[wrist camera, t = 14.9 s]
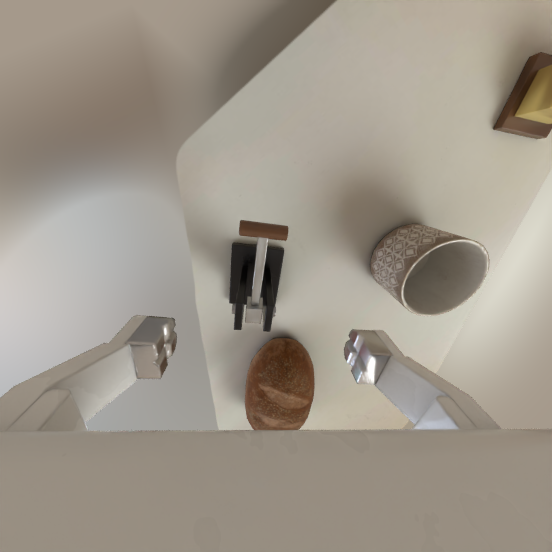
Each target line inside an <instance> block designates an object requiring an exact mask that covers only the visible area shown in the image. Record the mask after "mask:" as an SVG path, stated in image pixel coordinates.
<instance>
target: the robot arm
mask: <svg viewBox="0 0 552 552" xmlns="http://www.w3.org/2000/svg"><path fill="white" fill-rule="evenodd" d="M175 326H176V324H175V319H174V318H167V317H155V316H140V315H136V316H133V317H132V318H131V319H130V320H129V322H128V323H127V324H126V325H125V326H124V327H123V328H122V329H121V330H120V331H119V332H118V333H117V335H116V336H115V337H114V338H113V339H112V340H111V341H110V342H109V343H103V344H101V345H99V346H97V347H95V348H93V349H91V350H89V351H86V352H84V353H82V354H80V355H78V356H76V357H74V358H72V359H70V360H68V361H66V362H64V363H62V364H59V365H57V366H55V367H53V368H51V369H49V370H47V371H45V372H43V373H41V374H39V375H37V376H34V377H32V378H30V379H29V380H26V381H24V382H22V383H20V384H18V385H16V386H14V387H13V388H11V389H10V390H9V391H8V392H7V393H5V394H4V395H3V396H2V397H1V398H0V552H552V429H501V428H500V426H498V425H497V423H496V422H495V421H494V420H493V419H492V418H491V417H490V416H489V415H488V414H487V413H486V412H485V411H484V410H483V409H482V408H481V407H480V406H479V405H478V404H477V402H476V401H475V400H474V399H473V398H472V397H470V396H469V395H468V394H466V393H465V392H463V391H462V390H460V389H459V388H457V387H455V386H454V385H452V384H451V383H449V382H447V381H446V380H444V379H443V378H441V377H439V376H438V375H436V374H435V373H433V372H431V371H430V370H428V369H427V368H425V367H423V366H422V365H420V364H419V363H417V362H416V361H414V360H412V359H411V358H409V357H405V356H404V355H403V354H402V352H401V351H400V350H399V349H398V347H397V346H396V345H395V344H394V343H393V341H392V340H391V339H390V338H389V336H388V335H387V334H386V333H385V332H384V331H382V330H356V329H352V330H351V331H350V334H349V337H350V340H349V341H347V342H346V344H345V347H344V355H345V359H346V361H347V363H348V364H349V365H351V366H352V370H351V372H352V374H353V376H354V378H355V380H356V382H357V384H368V385H375V386H376V387H377V388H378V389H379V390H380V391H381V392H382V393H383V394H384V395H385V396H386V397H387V398H388V399H389V400H390V401H391V402H392V403H393V404H394V405H395V406H396V407H397V408H398V409H399V410H400V411H401V412H402V413H403V414H404V415H405V416H406V417H407V418H408V419H409V420H410V421H411V422H412V423H414V426H413V428H412V429H384V430H202V431H200V430H199V431H198V430H197V431H196V430H193V431H89V429H88V427H87V425H86V423H85V422H87V421H88V420H89V419H90V418H92V417H93V416H94V415H95V414H97V413H98V412H99V411H100V410H101V409H102V408H104V407H105V406H106V405H107V404H109V403H110V402H111V401H112V400H114V399H115V398H116V397H117V396H118V395H120V394H121V393H122V392H123V391H125V390H126V389H127V388H128V387H129V386H131V385H132V384H133V383H134V382H136V381H137V379H160V378H161V377H162V375H163V373H164V371H165V369H166V367H167V365H168V364H167V359H168V358H169V357H171V356H172V355H173V352H174V350H175V347H176V343H177V334H176V333H175V332H174V327H175Z"/></svg>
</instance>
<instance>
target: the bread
mask: <svg viewBox="0 0 552 552" xmlns="http://www.w3.org/2000/svg"><path fill="white" fill-rule="evenodd" d="M313 396H314V368H313V364H312V361H311V358H310V356H309V354H308V352H307V350H306V349H305V348H304V347H303V345H301V344H300V343H299V342H298V341H296V340H293V339H288V338H277V339H272V340H270V341H269V342H267V343H266V344H265V345H264V346H263V347H262V348H261V349H260V350H259V351H258V353H257V354H256V355H255V357H254V358H253V360H252V362H251V364H250V367H249V370H248V374H247V380H246V394H245V407H246V415H247V419H248V421H249V423H250V424H251V426H252V428H253V429H254V430H299V429H300V428H301V426H302V425H303V424H304V423H305V421H306V419H307V417H308V414H309V411H310V408H311V404H312V401H313Z"/></svg>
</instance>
